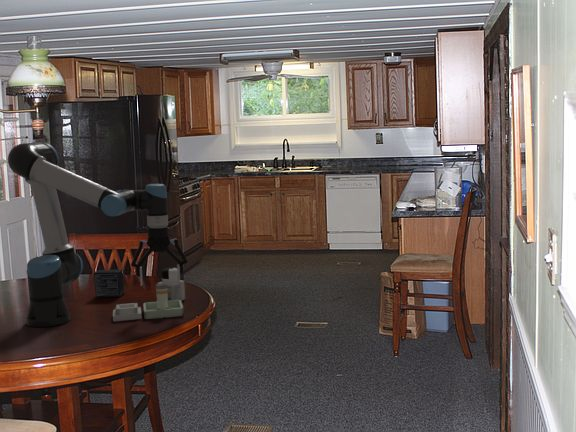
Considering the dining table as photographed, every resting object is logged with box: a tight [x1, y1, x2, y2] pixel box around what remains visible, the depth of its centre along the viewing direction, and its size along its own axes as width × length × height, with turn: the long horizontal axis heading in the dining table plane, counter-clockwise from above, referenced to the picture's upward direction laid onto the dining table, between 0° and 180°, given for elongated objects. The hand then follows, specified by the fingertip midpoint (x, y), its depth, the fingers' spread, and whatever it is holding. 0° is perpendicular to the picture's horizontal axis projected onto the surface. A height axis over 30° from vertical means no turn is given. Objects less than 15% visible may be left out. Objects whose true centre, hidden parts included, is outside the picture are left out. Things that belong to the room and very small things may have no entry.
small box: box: [93, 269, 125, 299], centre depth 317 cm, size 11×6×10 cm, turn 84°
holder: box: [112, 302, 143, 322], centre depth 282 cm, size 10×10×4 cm
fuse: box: [155, 283, 169, 310], centre depth 285 cm, size 4×4×10 cm
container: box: [156, 267, 186, 302], centre depth 303 cm, size 8×8×13 cm
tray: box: [142, 300, 185, 320], centre depth 285 cm, size 14×14×3 cm
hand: (160, 283), depth 284 cm, fingers open, 13 cm apart
